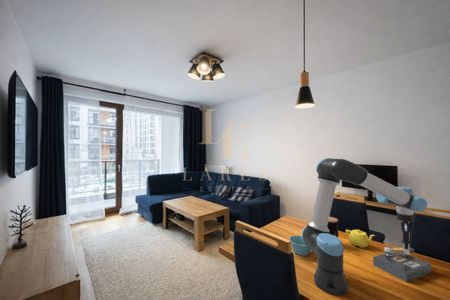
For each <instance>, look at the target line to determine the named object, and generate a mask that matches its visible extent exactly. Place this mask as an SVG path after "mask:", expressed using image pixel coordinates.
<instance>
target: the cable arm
mask: <svg viewBox="0 0 450 300" xmlns="http://www.w3.org/2000/svg"><path fill="white" fill-rule="evenodd" d="M409 248H410V254H414V253H415V249H414V248H412V247H411V246H409ZM383 251H384V254H385V253H387V254H394V253H403V247H388V246H385V247H384V248H383Z"/></svg>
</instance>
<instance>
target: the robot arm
mask: <svg viewBox="0 0 450 300" xmlns="http://www.w3.org/2000/svg"><path fill="white" fill-rule="evenodd" d="M315 171H316V173H317V174H318V175H317V180H318V182H319V184H318V189H317V192H316V196H315V203H314V204H313V205H314V206H313V211H312V215H311V219H310V221H309V222H307V224H306V226H305V227H303V229H302V231H301V235H300V236H302V240H303V242H304V243H305V244H306V246H307V247H308V248H310V249H311V251H312V252H313V253H314V254H315V255H316V258H317V261H316V262H317V266H316V269H315V272H314V275H313V282H314V284H315V286H316V287H317V288H319V289H320V290H321V291H323V292H325V293H328V294H330V295H335V296H343V295H347V293H348V292H349V284H348V281H347V279H346V275H345V273H344V245H343V242H342V240H341V238H339V237H338V238H337V237H336V236H334V235H331V234H329V229H328V228H327V224H328V220H329V217H330V215H331V211H332V205H333V201H334V196H335V192H336V188H337V187H336V186H338V185H340V183H341V181H343V182H346V183H351V184H353V185H355V186H361V187H363V188H365V189H367V190H369V191H371V192H374V193H375V194H376V195H375V197H376V200H377V202H378V203H380V204H383V205H384V204H385V205H387V204H388V205H393V206H395V207H396V210H395V211H396V219H397V220H398V221H400V227H401V231H402V240H401V243H402V248H403V254H407V255H411V253H410V248H411V247H410V244H412V242H411V241H410V230H411V223H414V222H415V215H414V214H415V212H417V213H421V212H425V211H426V210H427V207H428V202H427V200H426V199H425V198H424V197H421V196H418V195H414V190H413V188H411V187H406V186H395V185H394V184H391V183H390V182H387V181H385V180H383V179H382V178H379V177H378V176H375V175H374V174H371V173H369V171H368V170H367V169H366V168H365V167H362V166H361V165H358V164H356V163H354V162H353V161H350V160H348V159H345V158H332V157H330V158H329V157H328V158H323V159H321V160H320V161H318V163H317V165H316V167H315ZM401 221H402V222H401ZM409 247H410V248H409Z"/></svg>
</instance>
